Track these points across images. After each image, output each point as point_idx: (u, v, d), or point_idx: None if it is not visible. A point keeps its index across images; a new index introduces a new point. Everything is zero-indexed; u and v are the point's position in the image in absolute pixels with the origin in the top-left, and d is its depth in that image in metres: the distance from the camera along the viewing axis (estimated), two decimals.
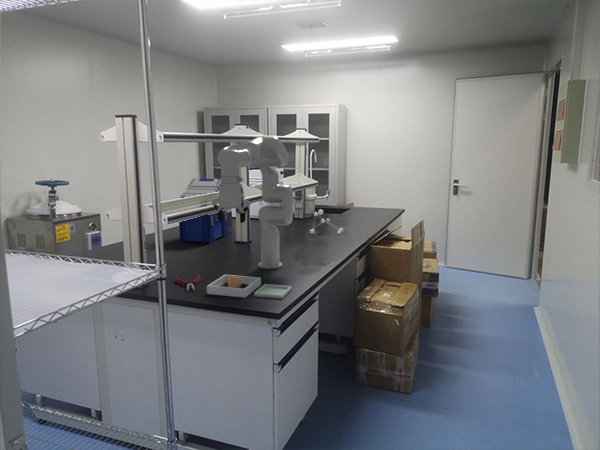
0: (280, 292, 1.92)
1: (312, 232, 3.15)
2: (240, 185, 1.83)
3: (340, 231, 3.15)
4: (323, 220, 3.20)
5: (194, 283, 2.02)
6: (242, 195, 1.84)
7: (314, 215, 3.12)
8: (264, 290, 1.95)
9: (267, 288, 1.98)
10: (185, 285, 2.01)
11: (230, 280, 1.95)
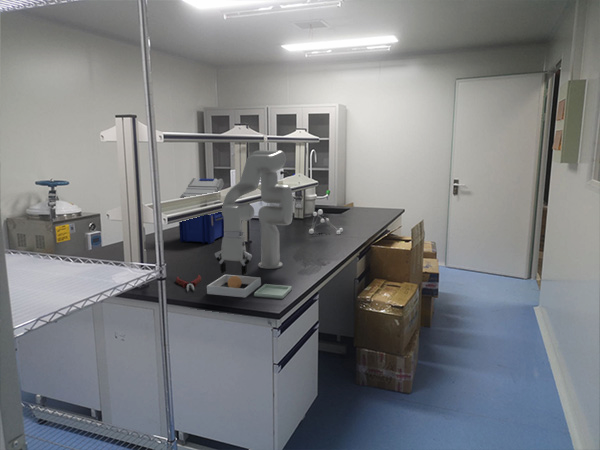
0: (280, 292, 1.92)
1: (311, 232, 3.16)
2: (242, 239, 1.92)
3: (339, 231, 3.15)
4: (322, 220, 3.21)
5: (194, 283, 2.02)
6: (244, 248, 1.93)
7: None
8: (264, 290, 1.95)
9: (267, 288, 1.98)
10: (185, 285, 2.01)
11: (230, 280, 1.95)
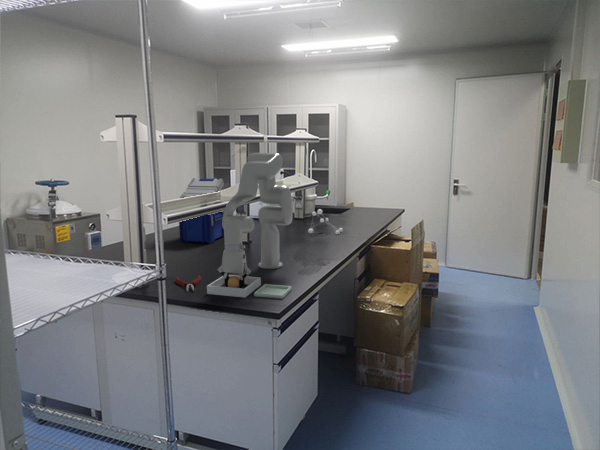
0: (280, 292, 1.92)
1: (310, 231, 3.18)
2: (242, 252, 1.93)
3: (338, 231, 3.15)
4: (322, 220, 3.22)
5: (194, 284, 2.01)
6: (244, 261, 1.94)
7: (312, 214, 3.14)
8: (264, 290, 1.95)
9: (267, 288, 1.98)
10: (185, 286, 2.00)
11: (230, 280, 1.95)
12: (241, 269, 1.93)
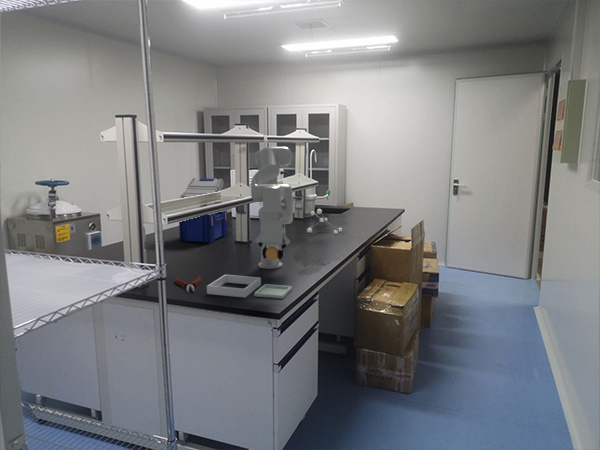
0: (280, 292, 1.92)
1: (309, 231, 3.20)
2: (282, 221, 1.86)
3: (336, 231, 3.16)
4: (321, 219, 3.23)
5: (194, 284, 2.01)
6: (283, 230, 1.87)
7: (311, 214, 3.17)
8: (264, 290, 1.95)
9: (267, 288, 1.98)
10: (185, 286, 2.00)
11: (268, 250, 1.88)
12: (280, 239, 1.85)
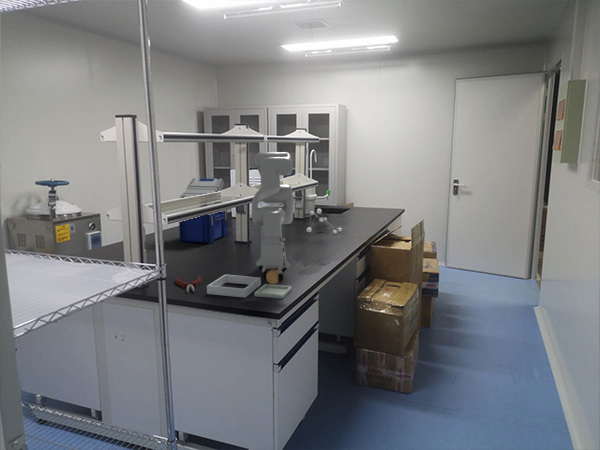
0: (280, 292, 1.92)
1: (308, 230, 3.21)
2: (282, 245, 1.88)
3: (335, 231, 3.16)
4: (321, 219, 3.24)
5: (194, 284, 2.00)
6: (284, 254, 1.89)
7: None
8: (264, 290, 1.95)
9: (267, 288, 1.98)
10: (185, 286, 1.99)
11: (269, 274, 1.89)
12: (281, 262, 1.87)
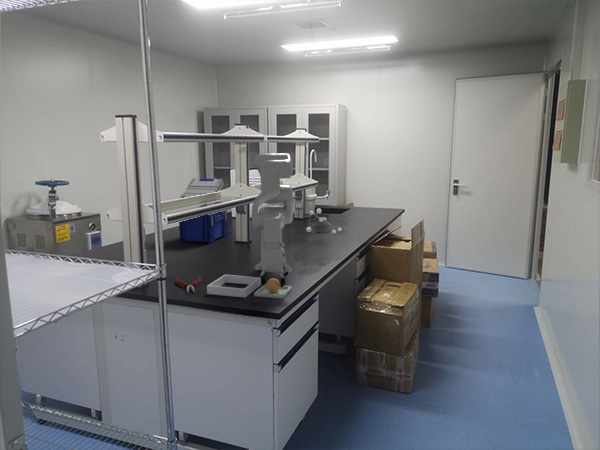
0: (280, 292, 1.92)
1: (308, 230, 3.22)
2: (282, 250, 1.88)
3: (334, 230, 3.16)
4: (321, 219, 3.25)
5: (194, 285, 2.00)
6: (284, 259, 1.89)
7: (309, 213, 3.19)
8: (264, 290, 1.95)
9: None
10: (185, 287, 1.99)
11: (269, 283, 1.90)
12: (281, 268, 1.88)
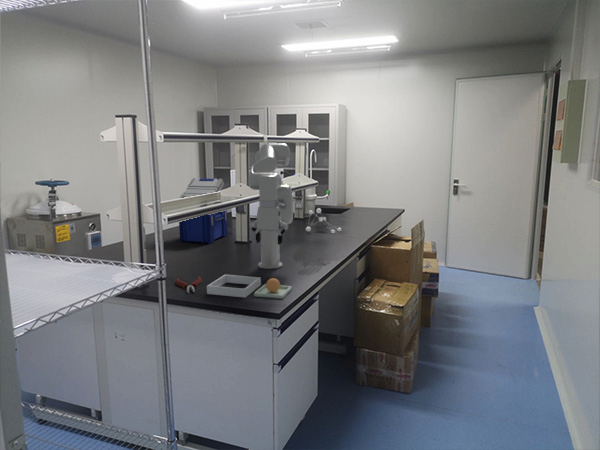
0: (280, 292, 1.92)
1: (307, 229, 3.24)
2: (278, 209, 1.90)
3: (333, 230, 3.17)
4: (320, 219, 3.26)
5: (194, 285, 1.99)
6: (279, 218, 1.92)
7: (309, 213, 3.21)
8: (264, 290, 1.95)
9: None
10: (185, 287, 1.98)
11: (269, 283, 1.90)
12: (276, 226, 1.90)
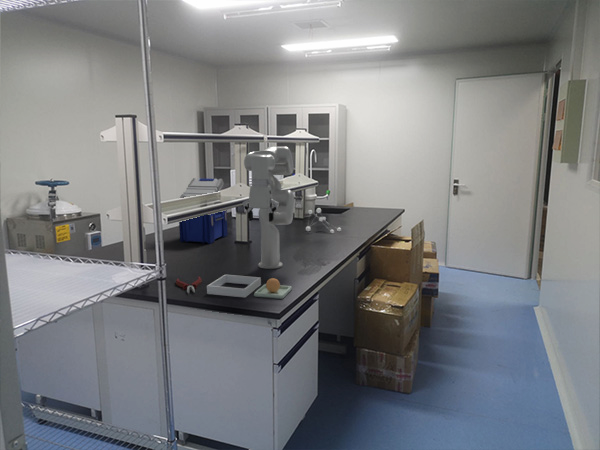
0: (280, 292, 1.92)
1: (307, 229, 3.26)
2: (269, 187, 2.01)
3: (332, 230, 3.18)
4: (320, 218, 3.27)
5: (194, 285, 1.99)
6: (271, 196, 2.02)
7: None
8: (264, 290, 1.95)
9: None
10: (185, 287, 1.98)
11: (269, 283, 1.90)
12: (268, 204, 2.01)
